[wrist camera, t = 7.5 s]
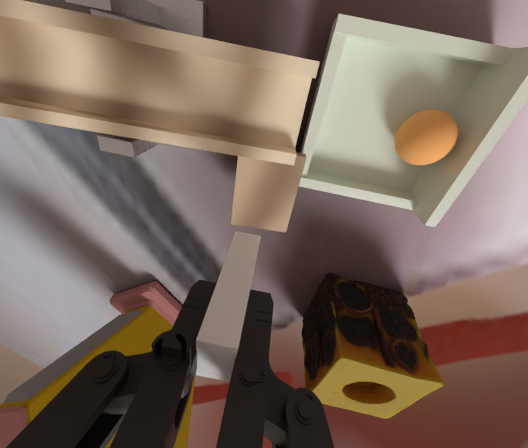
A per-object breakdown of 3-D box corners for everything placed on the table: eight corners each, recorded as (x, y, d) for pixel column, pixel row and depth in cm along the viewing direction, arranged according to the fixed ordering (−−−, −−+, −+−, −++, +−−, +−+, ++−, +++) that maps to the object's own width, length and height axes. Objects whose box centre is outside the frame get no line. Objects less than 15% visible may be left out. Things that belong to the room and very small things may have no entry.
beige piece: (9, 179, 21) (-42, 202, 17) (-90, -21, 14) (-209, -49, 10) (284, 220, 23) (287, 248, 19) (325, 64, 16) (341, 65, 12)
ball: (449, 174, 16) (411, 156, 19) (485, 120, 14) (437, 108, 17) (409, 172, 15) (376, 152, 18) (442, 112, 13) (398, 101, 16)
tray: (294, 172, 22) (293, 197, 18) (333, 21, 16) (345, 4, 11) (409, 196, 22) (435, 227, 17) (493, 53, 15) (564, 48, 11)
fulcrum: (119, 131, 22) (64, 151, 17) (92, -19, 16) (-5, -60, 11) (204, 149, 22) (174, 175, 16) (207, 4, 16) (162, -26, 11)
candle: (327, 270, 28) (338, 355, 20) (407, 292, 28) (451, 384, 20) (300, 318, 34) (300, 399, 26) (366, 336, 34) (388, 421, 26)
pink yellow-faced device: (100, 281, 35) (-107, 504, 17) (143, 265, 32) (-57, 518, 14) (189, 357, 45) (117, 549, 27) (230, 350, 41) (177, 564, 24)
